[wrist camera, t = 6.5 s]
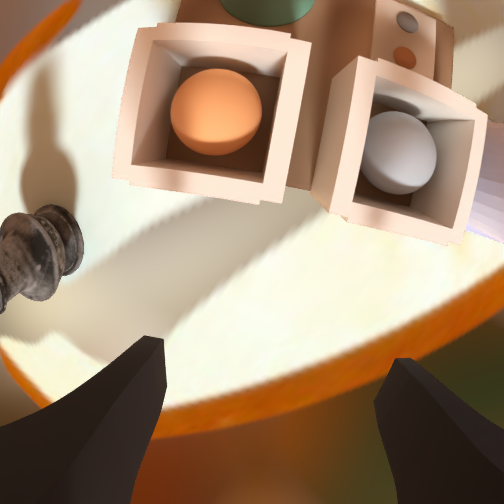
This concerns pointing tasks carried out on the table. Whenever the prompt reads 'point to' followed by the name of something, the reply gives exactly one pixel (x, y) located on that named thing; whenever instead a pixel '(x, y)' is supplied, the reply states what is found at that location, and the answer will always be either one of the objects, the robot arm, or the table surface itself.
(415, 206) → the open square box
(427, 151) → the grey ball
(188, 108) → the orange ball
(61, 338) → the table surface
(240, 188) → the beige open box
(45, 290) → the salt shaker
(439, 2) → the table surface
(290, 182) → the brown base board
